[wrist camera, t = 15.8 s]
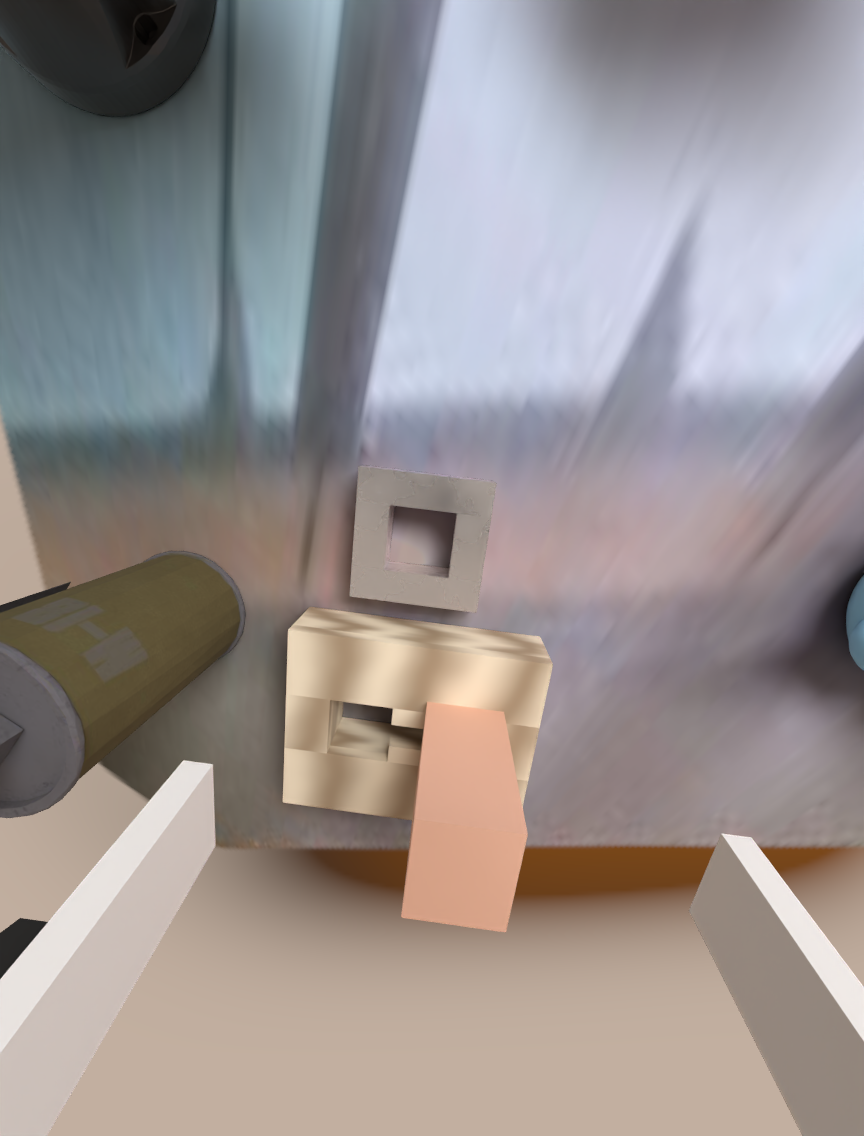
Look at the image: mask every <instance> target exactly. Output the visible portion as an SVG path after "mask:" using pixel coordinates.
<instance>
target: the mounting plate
mask: <svg viewBox="0 0 864 1136" xmlns="http://www.w3.org/2000/svg"><path fill="white" fill-rule="evenodd" d="M552 667H553V664H552V661H551V659H550V657H549V655H548V653H547V651H546V649H545V646H544V644H543V642H542V640H541V638H540V637H539V636H531V635H523V634H516V633H508V632H500V631H492V630H485V629H477V628H469V627H462V626H454V625H446V624H439V623H431V622H423V621H416V620H408V619H400V618H392V617H385V616H377V615H369V614H362V613H354V612H346V611H339V610H331V609H323V608H316V607H309V608H308V609H307V610H306V611H305V612H304V614H303V615H302V616H301V617H300V618H299V619H298V620H297V621H296V622H295V623H294V624H293V625H292V626H291V627H290V628H289V629H288V650H287V682H286V715H285V748H284V780H283V802H284V803H291V804H298V805H305V806H312V807H320V808H327V809H334V810H341V811H348V812H356V813H363V814H370V815H377V816H384V817H392V818H399V819H406V820H412V819H413V810H414V801H415V793H416V784H417V775H418V768H419V760H420V752H421V745H422V737H423V729H424V722H425V714H426V707H427V702H434V703H441V704H449V705H456V706H464V707H471V708H479V709H486V710H494V711H501V712H504V714H505V719H506V725H507V730H508V735H509V740H510V745H511V751H512V756H513V761H514V766H515V771H516V777H517V782H518V787H519V792H520V798H521V803H522V807H523V802H524V797H525V793H526V788H527V783H528V779H529V774H530V769H531V765H532V760H533V755H534V751H535V746H536V741H537V737H538V732H539V727H540V723H541V718H542V713H543V709H544V704H545V699H546V695H547V690H548V685H549V681H550V676H551V671H552ZM343 702H349V703H357V704H364V705H372V706H379V707H387V708H393V714H392V723H383V722H376V721H368V720H361V719H354V718H346V717H342V714H343Z"/></svg>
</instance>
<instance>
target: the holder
mask: <svg viewBox="0 0 864 1136" xmlns="http://www.w3.org/2000/svg"><path fill="white" fill-rule="evenodd" d="M495 490H496V482H494V481H492V480H484V479H476V478H468V477H459V476H451V475H443V474H435V473H427V472H419V471H411V470H403V469H395V468H387V467H379V466H370V465H363V466H359V468H358V482H357V496H356V511H355V525H354V539H353V553H352V567H351V581H350V597H358V598H366V599H374V600H381V601H389V602H397V603H405V604H412V605H420V606H428V607H435V608H443V609H451V610H459V611H466V612H474V613H476V612H477V605H478V599H479V592H480V586H481V579H482V573H483V567H484V560H485V554H486V547H487V541H488V535H489V528H490V522H491V515H492V509H493V502H494V496H495ZM395 506H402V507H410V508H418V509H426V510H434V511H442V512H450V513H456V520H455V527H454V535H453V542H452V550H451V557H450V565H449V568H443V567H435V566H427V565H419V564H411V563H403V562H396V561H389V560H390V549H391V539H392V528H393V517H394V507H395Z"/></svg>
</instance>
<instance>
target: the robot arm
mask: <svg viewBox="0 0 864 1136" xmlns="http://www.w3.org/2000/svg"><path fill="white" fill-rule="evenodd" d="M215 1H216V0H0V45H1V46H2V47H3V48H4V49H5V51H6V52H7V53H8V54H9V55H10V56H11V57H13V58H14V59H15V60H16V61H17V62H18V63H19V64H20V65H21V66H22V67H23V68H25V69H26V70H27V71H28V72H29V73H30V74H31V75H32V76H33V77H35V78H36V79H37V80H38V81H39V82H40V83H41V84H42V85H44V86H45V87H46V88H47V89H48V90H49V91H51V92H52V93H54V94H55V95H56V96H58V97H59V98H61V99H62V100H64V101H66V102H67V103H69V104H71V105H73V106H75V107H78V108H80V109H82V110H85V111H88V112H91V113H95V114H100V115H106V116H126V115H132V114H137V113H140V112H143V111H146V110H149V109H151V108H153V107H155V106H157V105H158V104H160V103H162V102H163V101H165V100H166V99H167V98H169V97H170V96H171V95H172V94H173V93H175V92H176V91H177V90H178V89H179V88H180V87H181V86H182V84H183V83H184V82H185V81H186V79H187V78H188V77H189V75H190V74H191V72H192V71H193V69H194V68H195V66H196V64H197V62H198V60H199V58H200V56H201V54H202V52H203V49H204V47H205V44H206V42H207V39H208V36H209V32H210V28H211V24H212V20H213V15H214V8H215ZM214 847H215V817H214V785H213V764H206V763H199V762H192V761H184V760H183V761H182V763H181V764H180V765H179V766H178V767H177V769H176V770H175V771H174V772H173V773H172V775H171V776H170V777H169V778H168V779H167V781H166V782H165V783H164V784H163V785H162V787H161V788H160V789H159V790H158V791H157V793H156V794H155V795H154V796H153V797H152V798H151V800H150V801H149V802H148V803H147V805H146V806H145V807H144V808H143V809H142V810H141V812H140V813H139V814H138V815H137V816H136V818H135V819H134V820H133V821H132V822H131V824H130V825H129V826H128V827H127V828H126V830H125V831H124V832H123V833H122V834H121V836H120V837H119V838H118V839H117V840H116V842H115V843H114V844H113V845H112V846H111V848H110V849H109V850H108V851H107V852H106V853H105V855H104V856H103V857H102V858H101V859H100V861H99V862H98V863H97V864H96V865H95V867H94V868H93V869H92V870H91V871H90V873H89V874H88V875H87V876H86V877H85V879H84V880H83V881H82V882H81V883H80V885H79V886H78V887H77V888H76V889H75V891H74V892H73V893H72V894H71V895H70V897H69V898H68V899H67V900H66V901H65V902H64V904H63V905H62V906H61V907H60V908H59V910H58V911H57V912H56V913H55V914H54V916H53V917H52V918H51V919H50V921H49V922H44V921H36V920H30V919H22V918H20V919H18V920H17V921H16V922H14V923H13V924H12V925H10V926H9V927H8V928H6V929H5V930H4V931H2V932H1V933H0V1136H47V1134H48V1133H49V1131H50V1129H51V1128H52V1126H53V1124H54V1122H55V1121H56V1119H57V1117H58V1115H59V1114H60V1112H61V1110H62V1109H63V1107H64V1105H65V1103H66V1102H67V1100H68V1098H69V1097H70V1094H71V1093H72V1091H73V1089H74V1088H75V1086H76V1084H77V1083H78V1081H79V1079H80V1078H81V1076H82V1074H83V1073H84V1071H85V1069H86V1067H87V1066H88V1064H89V1062H90V1060H91V1059H92V1057H93V1055H94V1054H95V1052H96V1050H97V1048H98V1047H99V1045H100V1043H101V1042H102V1040H103V1038H104V1036H105V1035H106V1033H107V1031H108V1030H109V1028H110V1026H111V1024H112V1023H113V1021H114V1019H115V1017H116V1016H117V1014H118V1012H119V1010H120V1009H121V1007H122V1005H123V1004H124V1002H125V1000H126V999H127V997H128V995H129V993H130V992H131V990H132V988H133V986H134V985H135V983H136V981H137V980H138V978H139V976H140V975H141V973H142V971H143V969H144V968H145V966H146V964H147V963H148V961H149V959H150V957H151V956H152V954H153V952H154V950H155V949H156V947H157V945H158V943H159V942H160V940H161V938H162V937H163V935H164V933H165V932H166V930H167V928H168V926H169V925H170V923H171V921H172V920H173V918H174V916H175V914H176V913H177V911H178V909H179V907H180V906H181V904H182V902H183V900H184V899H185V897H186V895H187V894H188V892H189V890H190V889H191V887H192V885H193V883H194V881H195V880H196V878H197V876H198V875H199V873H200V871H201V870H202V868H203V866H204V865H205V863H206V861H207V859H208V858H209V856H210V854H211V853H212V851H213V849H214ZM689 912H690V914H691V916H692V918H693V920H694V922H695V924H696V926H697V928H698V929H699V932H700V934H701V936H702V937H703V940H704V942H705V944H706V946H707V947H708V949H709V952H710V953H711V955H712V957H713V959H714V961H715V963H716V965H717V967H718V969H719V971H720V973H721V975H722V977H723V979H724V981H725V983H726V985H727V987H728V989H729V991H730V993H731V995H732V997H733V999H734V1001H735V1003H736V1005H737V1007H738V1009H739V1011H740V1013H741V1015H742V1017H743V1019H744V1021H745V1023H746V1025H747V1027H748V1029H749V1031H750V1033H751V1035H752V1037H753V1039H754V1041H755V1043H756V1045H757V1047H758V1049H759V1051H760V1053H761V1055H762V1057H763V1059H764V1061H765V1063H766V1064H767V1067H768V1068H769V1070H770V1073H771V1074H772V1076H773V1078H774V1080H775V1082H776V1084H777V1086H778V1088H779V1090H780V1092H781V1094H782V1096H783V1098H784V1100H785V1102H786V1104H787V1106H788V1108H789V1110H790V1112H791V1114H792V1116H793V1118H794V1120H795V1122H796V1124H797V1126H798V1128H799V1130H800V1132H801V1134H802V1136H864V987H863V985H862V984H861V983H860V982H859V980H858V979H857V977H856V976H855V975H854V973H853V972H852V971H851V969H850V968H849V967H848V965H847V964H846V963H845V961H844V960H843V959H842V957H841V956H840V955H839V954H838V952H837V951H836V950H835V948H834V947H833V945H832V944H831V943H830V942H829V940H828V939H827V937H826V936H825V935H824V933H823V932H822V931H821V930H820V928H819V927H818V926H817V924H816V923H815V922H814V920H813V919H812V918H811V916H810V915H809V914H808V912H807V911H806V910H805V908H804V907H803V906H802V904H801V903H800V902H799V900H798V899H797V898H796V896H795V895H794V894H793V892H792V891H791V890H790V888H789V887H788V886H787V884H786V883H785V882H784V880H783V879H782V878H781V876H780V875H779V874H778V872H777V871H776V870H775V868H774V867H773V866H772V864H771V863H770V862H769V861H768V859H767V858H766V856H765V855H764V854H763V853H762V851H761V850H760V849H759V847H758V846H757V845H756V843H755V842H754V841H753V839H752V838H750V837H743V836H735V835H728V834H721V836H720V838H719V841H718V843H717V845H716V848H715V850H714V852H713V855H712V857H711V860H710V862H709V864H708V867H707V869H706V871H705V874H704V877H703V879H702V881H701V883H700V886H699V888H698V890H697V893H696V895H695V898H694V900H693V902H692V905H691V907H690V910H689Z"/></svg>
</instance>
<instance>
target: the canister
mask: <svg viewBox="0 0 864 1136" xmlns="http://www.w3.org/2000/svg"><path fill="white" fill-rule="evenodd" d="M70 583H71V582H69V583H66V584H63V585H60V586H57V587H54V588H51V589H48V590H45V591H42V592H39V593H36V594H33V595H30V596H27V597H24V598H21V599H18V600H15V601H12V602H9V603H6V604H3V605H0V817H3V818H13V817H21V816H28V815H33V814H36V813H38V812H41V811H43V810H46V809H48V808H50V807H51V806H53V805H54V804H55V803H57V802H59V801H60V800H61V799H63V798H64V796H65V795H66V794H67V793H68V792H69V791H70V790H71V789H72V788H73V786H74V785H75V784H76V782H77V781H78V779H79V778H81V777H82V776H83V775H84V774H85V773H86V772H88V771H89V770H90V769H91V768H92V767H93V766H95V765H96V764H97V763H98V762H99V761H100V760H102V759H103V758H104V757H105V756H106V755H107V754H108V753H110V752H111V751H112V750H113V749H114V748H115V747H117V746H118V745H119V744H120V743H121V742H122V741H123V740H125V739H126V738H127V737H128V736H129V735H130V734H132V733H133V732H134V731H135V730H136V729H137V728H138V727H140V726H141V725H142V724H143V723H144V722H145V721H147V720H148V719H149V718H150V717H151V716H152V715H153V714H155V713H156V712H157V711H158V710H159V709H160V708H162V707H163V706H164V705H165V704H166V703H167V702H168V701H170V700H171V699H172V698H173V697H174V696H175V695H177V694H178V693H179V692H180V691H181V690H182V689H183V688H185V687H186V686H187V685H188V684H189V683H190V682H192V681H193V680H194V679H195V678H196V677H197V676H198V675H200V674H201V673H202V672H203V671H204V670H205V669H207V668H208V667H209V666H210V665H211V664H212V663H213V662H215V661H216V660H217V659H219V658H221V657H222V656H224V655H225V654H227V653H228V652H229V651H231V650H232V648H233V647H234V646H235V645H236V644H237V642H238V640H239V638H240V636H241V635H242V633H243V628H244V623H245V608H244V603H243V600H242V597H241V594H240V591H239V589H238V587H237V586H236V584H235V583H234V581H233V579H232V578H231V577H230V576H229V575H228V574H227V573H226V572H225V571H224V570H223V569H222V568H220V567H219V566H218V565H217V564H216V563H214V562H213V561H211V560H209V559H207V558H205V557H203V556H201V555H198V554H195V553H190V552H185V551H168V552H164V553H160V554H157V555H154V556H152V557H151V558H149V559H147V560H146V561H144V562H143V563H141V564H138V565H135V566H132V567H129V568H126V569H123V570H121V571H118V572H115V573H112V574H109V575H106V576H104V577H101V578H98V579H95V580H92V581H89V582H86V583H84V584H81V585H78V586H75V587H72V588H69V589H67V588H68V586H69V584H70ZM66 589H67V590H66Z"/></svg>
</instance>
